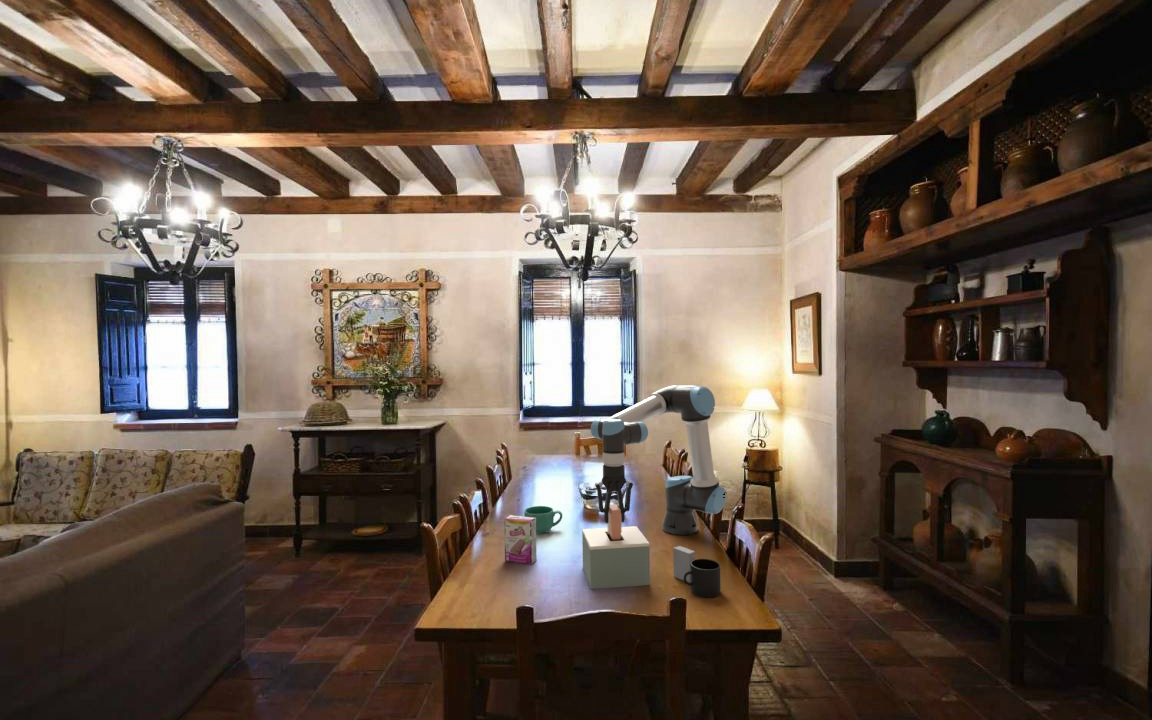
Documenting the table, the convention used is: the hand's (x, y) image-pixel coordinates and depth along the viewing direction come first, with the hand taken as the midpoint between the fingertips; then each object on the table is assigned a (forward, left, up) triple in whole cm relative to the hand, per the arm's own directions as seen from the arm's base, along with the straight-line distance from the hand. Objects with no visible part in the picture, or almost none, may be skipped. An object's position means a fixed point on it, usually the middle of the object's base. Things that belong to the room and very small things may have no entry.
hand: (614, 531), depth 189 cm
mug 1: (+21, -52, -16) cm, 58 cm away
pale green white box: (0, 0, -16) cm, 16 cm away
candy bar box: (+32, -19, -16) cm, 40 cm away
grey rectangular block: (-23, +6, -16) cm, 28 cm away
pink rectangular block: (0, 0, -2) cm, 2 cm away
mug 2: (-25, +17, -16) cm, 34 cm away
